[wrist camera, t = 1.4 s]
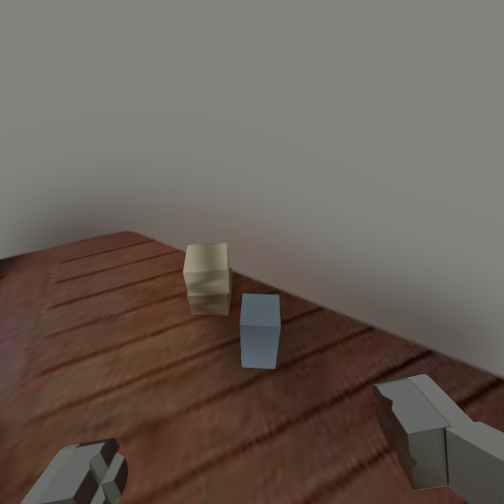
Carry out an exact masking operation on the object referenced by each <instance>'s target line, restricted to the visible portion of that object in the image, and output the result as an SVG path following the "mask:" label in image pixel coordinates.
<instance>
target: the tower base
mask: <svg viewBox="0 0 504 504" xmlns="http://www.w3.org/2000/svg"><path fill="white" fill-rule="evenodd" d="M232 289H233V286H232V272H231V268H229V291H230V293H229V294H214V295H200V296H189V294H188V292H187V297H188V301H189V305H190V309H191V313H192V314H197V315H222V316H229V310H230V303H231V296H232Z"/></svg>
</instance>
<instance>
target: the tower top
mask: <svg viewBox="0 0 504 504" xmlns="http://www.w3.org/2000/svg"><path fill="white" fill-rule="evenodd" d="M183 274H184V278H185V282H186V286H187V290H188V294H189V296H200V295H214V294H229V293H230V291H229V263H228V251H227V243H211V244H193V245H188V247H187V252H186V258H185V264H184V270H183Z"/></svg>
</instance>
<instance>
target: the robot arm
mask: <svg viewBox="0 0 504 504" xmlns="http://www.w3.org/2000/svg"><path fill="white" fill-rule="evenodd" d="M373 394H374V397H375V399H376V400H377V402H378V405H377V406H376V413H377V418H378V421H379V424H380V428H381V430H382V432H383V434H384V437H385V438H386V440H387V442H388V444H389V446H391V447H392V448H393V449H395V450H396V451H397V455H398V462H399V464H400V466H401V468H402V470H403V471H404V473H405V475H406V477H407V479H408V480H409V482H410V484H411V486H412V488H413V489H414V490H421V489H428V488H435V487H442V486H449V488H450V489H452V490H453V491H454V492H455V493H457V494H458V495H459V496H460V497H461V498H463V499H464V500H465V501H466V502H468V503H469V504H504V433H502V432H500V431H498V430H496V429H494V428H492V427H490V426H488V425H486V424H484V423H482V422H473V421H472V420H471V419H470V418H469V417H468V416H467V415H466V414H465V413H464V412H463V411H462V410H461V409H460V408H459V407H458V406H457V405H456V404H455V403H454V402H453V401H452V400H451V399H450V398H449V397H448V396H447V395H446V394H445V393H444V392H443V391H442V389H441V388H440V387H439V386H438V385H437V384H436V383H435V382H434V381H433V380H432V379H431V378H430V377H429V376H427V375H425V374H423V375H418V376H413V377H409V378H404V379H399V380H395V381H390V382H385V383H380V384H376V385H373ZM118 449H119V445H118V443H117V441H116V439H115V438H109V439H103V440H97V441H91V442H85V443H81V444H75V445H69V446H66V447H64V448H63V449H61V450H60V451H59V452H58V453H57V455H56V456H55V458H54V459H53V460H52V462H51V463H50V464H49V466H48V467H47V468H46V470H45V471H44V472H43V474H42V475H41V476H40V478H39V479H38V480H37V482H36V483H35V485H34V486H33V487H32V489H31V490H30V491H29V493H28V494H27V495H26V497H25V498H24V499H23V501H22V502H21V503H20V504H115V503H116V502H117V501H118V500H119V498H120V497H121V496H122V494H123V491H124V489H125V486H126V482H127V476H128V467H127V462H126V460H125V458H124V457H123V456H122V455H120V454H118V453H117V452H118Z"/></svg>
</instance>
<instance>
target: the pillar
mask: <svg viewBox="0 0 504 504" xmlns="http://www.w3.org/2000/svg"><path fill="white" fill-rule="evenodd" d="M280 328H281V324H280V303H279V295H268V294H243V296H242V306H241V317H240V340H241V359H242V367H246V368H268V369H275V366H276V358H277V350H278V343H279V335H280Z"/></svg>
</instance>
